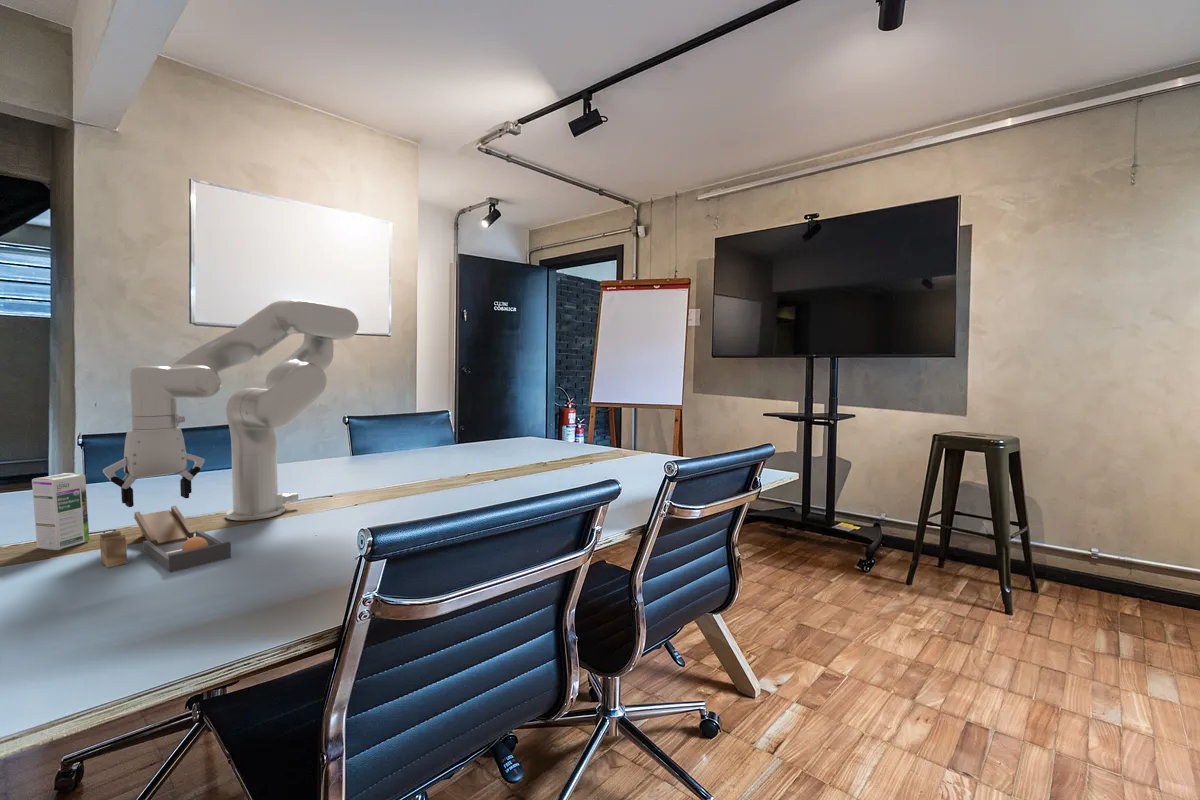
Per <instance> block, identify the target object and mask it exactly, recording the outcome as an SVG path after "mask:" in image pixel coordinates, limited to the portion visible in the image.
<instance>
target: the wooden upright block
mask: <svg viewBox="0 0 1200 800" xmlns="http://www.w3.org/2000/svg"><path fill="white" fill-rule="evenodd" d="M99 537H100V538H99V547H100V549H99V550H100V562H101V563H102V564H103V566H105V567H106V568H108V569H109V568H113V567H117V566H121V565H126V564H128V556H127V540H126V534H122V532H121V531H112V532H106V533H102V534H99Z"/></svg>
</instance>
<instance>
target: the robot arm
mask: <svg viewBox="0 0 1200 800" xmlns="http://www.w3.org/2000/svg"><path fill="white" fill-rule="evenodd" d="M359 326H360V325H359V319H358V318H357V316H356V314H355V313H354V311H352V310H351V309H349V308H346V307H342V306H336V305H333V304H331V305H330V304H326V303H321V302H315V301H311V300H304V299H285V300H283V299H282V300H277V301H274V302H272V303H270V304H268V305H267V306H266V307H265V306H264V308H262V309H261V310H259V311H258V312H256V313H255V314H254V315H252V316H251V317H249V318H248V319H246V320H245V321H243V322H242V323H240V324H239V325H237V326H236V327H234V328H233V329H232V330H230V331H228V332H226V333H224V334H222V335H220V336H217V337H216V338H214V339H212V340H210V341H208V342H206V343H205V344H203V345H200V346H198V347H197V348H194V349H193V350H192V351H190V352H188V353H187V354H185V355H184V356H182V357H181V358H180V359H178V360H177V361H175V362H174V363H172V364H171V365H170V366H166V365H165V366H164V365H139V366H138V365H137V366H134V367H132V368H131V369H130V372H129V381H130V384H129V385H130V388H129V389H130V409H131V424H132V425H131V428H132V429H130V430H127V431H126V436H125V440H124V451H123V452H124V453H123V458H122V459H120V460H118V461H116V462H114V463H112V464H110V465H108V466H106V467H105V468H103V469H102V473H103V474H104V475H105V476H106V477H107V479H108V480H109V481H110V482H112V483H113V484H115V485H116V486H118V487H120V488H121V489H120V491H121V493H120V494H121V503H122V504H124V505H125V506H126V507H127V508H133V507H134V504H135V503H134V489H133V488H132V487H131V486H132V485H133V483H134V482H136V481H137V479H144V478H145V479H146V478H152V477H161V476H168V475H176V474H178V475H180V476H181V477H182V478H181V479H180V481H179V484H180V485H179V486H180V497H182V498H184V499H190V494H192V489H193V488H192V480H194V477H195V476H196V475H197V474H198V473H199V472H201V468H202V467H203V465H204V464H205V461H206V459H205V458H204V457H200V456H197V455H194V454H191V453H188V452H187V451H186V445H185V438H184V435H183V431H182V428H181V427H179V425H180V424H181V423H185V422H186V417H185V416H180V415H179V414H178V410H177V409H178V408H177V398H179V399H180V398H181V399H185V398H186V399H196V400H197V399H198V400H200V399H201V400H203V399H208V398H210V397H213V396H214V395H216V394H217V393H219V391H220V390H221V388H222V385H223V384H222V383H223V381H222V377H221V375H220V374H219V373H221V372H224V371H225V370H228V369H230V368H232V367H236V366H239V365H244V364H247V363H250V362H253V361H255V360H257V359H260V358H261V357H263V356H264V355H265V354H267V353H268V352H269V351H271V350H272V349H273V348H274V347H276V346H277V345H278V344H280V343H281V342H283V341H284V340H286V338H288V337H289V336H291V335H294V334H296V335H298V334H303V335H304V336H303V341H302V342H301V343H302V344H301V345H300V346H299V347H298V348H297V349H295V351H294V352H292V353H291V354H289V356H287V357H285V358H284V359H283V360H281V361H280V362H279V363H278V364H277V365H275V366H274V367H272V368H271V369H270V371H268V373H267V375H266V377H265V385H266V386H265V387H266V388H261V387H260V388H259V387H246V388H242V389H239V390H237V391H235V392H234V393H232V395H230V397H229V398H228V400H227V403H226V407H225V409H226V410H225V411H226V412H225V413H226V418H227V423H228V427H229V432H230V442H231V443H230V444H231V447H230V448H231V449H230V450H231V476H232V477H231V478H232V482H231V483H232V484H231V485H232V506H233V507H232V508H230V509H228V510H227V511H226V512H225V518H226V519H227V520H230V521H231V520H232V521H255V520H263V519H267V518H273V517H276V516H279V515H282V514H283V513H284V512H285V511H286V505H285V504H286V502H294V501H298V500H299V493H297V492H293V493H290V494H289V493H281V492H278V491H279V489H278V485H279V483H278V454H277V453H278V452H277V451H278V446H277V445H278V443H277V435H276V432H275V430H277V429H281V428H284V427H286V426H288V425H290V423H292V422H293V421H295V420H296V418H298V417H299V416H300V415H301V414H302V413H303V412H305V411H306V410H307V409H308V408H309V407H310V406H311V405H313V403H315V402H316V401H317V400H319V398H320V397H321V396H322V395H323V393H324V391H325V389H326V386H327V382H328V380H327V376H326V373H325V370H326V369H328V368H329V366H330V365H331V363H332V362H333V358H334V341H337V340H338V341H339V340H341V341H343V340H348V339H351V338H352V337H354V336H355V335H356V334H357V332H358V330H359ZM188 461H193V462H194V464H193V466H192V467H191V468H190V469H189V470H187V468H188ZM122 468H123V471H124V472H123V473H124V474H125V476H124V477H123V478H122V479H121V478H119V477H118V476H117V475H116V472H117V471H118V470H120V469H122Z"/></svg>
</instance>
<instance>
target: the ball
mask: <svg viewBox="0 0 1200 800" xmlns="http://www.w3.org/2000/svg"><path fill="white" fill-rule="evenodd" d="M206 546H208V543H207V541H206V540H205V539H204V538H202V537H196V536H194V537H192V538H190V539H189V538H188V540H187V541H186V542H185V543H184V544H183V547H182V551H188V550H192V549H197V548H201V547H206Z"/></svg>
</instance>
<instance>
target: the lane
mask: <svg viewBox="0 0 1200 800" xmlns="http://www.w3.org/2000/svg"><path fill="white" fill-rule="evenodd" d="M195 537H202V538H204V539H205V540H206V541H207V543H208V546H206V547H201V548H197V549H192V550H188V551H182V547H183V544H184V543H185V542H186V541H187V540H183V541H178V542H174V543H169V544H164V545H159V546H157V545H156V546H155V545H154V544H153V543H151V542H150V541H148V540H147V539H146V540H143V541H142V546H143V547H142V549H143V550H142V551H143V552H144V553H145V554H147V555H148V556H149V557H150V558H152V559H153V560H154V561H156V562H158V563H159V564H160V565H161V566H162V567H163V568H165V569H166V570H167V571H169V572H170V573H172V572H173V573H174V572H177V571H181V570H185V569H189V568H193V567H198V566H202V565H205V564H209V563H213V562H218V561H223V560H226V559H230V558H232V548H231V545H232V542H230V541H229V540H228V541H225V542H222V541H220V540H218V539H217V538H215V537H213V536H211V535H210V534H208V533H206V532H205V531H203V530H201V529H198V530H197V529H196V530H195Z"/></svg>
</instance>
